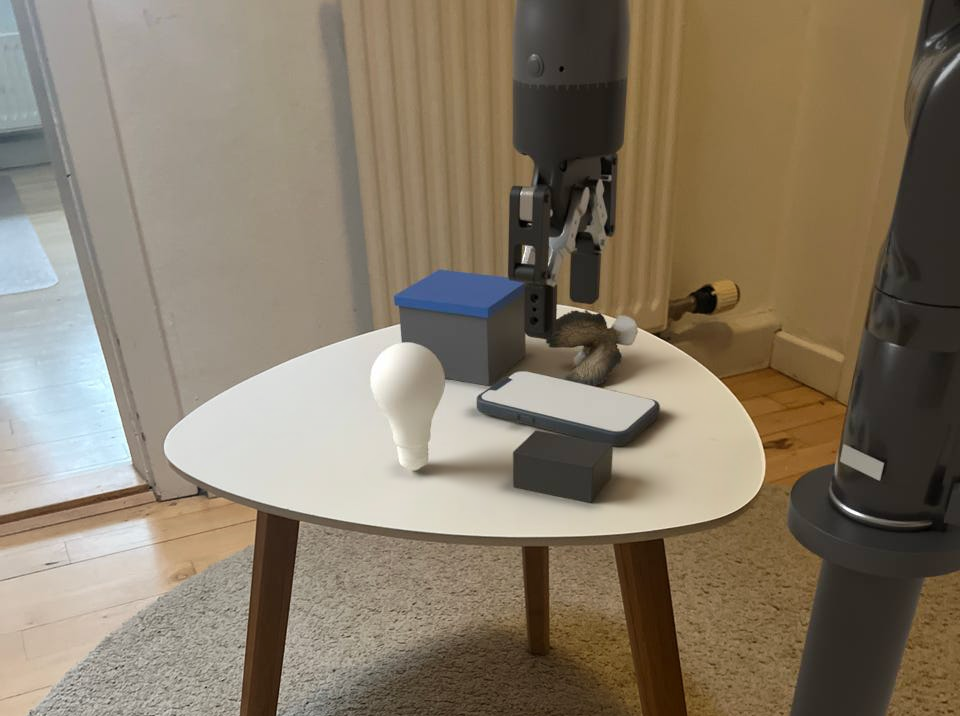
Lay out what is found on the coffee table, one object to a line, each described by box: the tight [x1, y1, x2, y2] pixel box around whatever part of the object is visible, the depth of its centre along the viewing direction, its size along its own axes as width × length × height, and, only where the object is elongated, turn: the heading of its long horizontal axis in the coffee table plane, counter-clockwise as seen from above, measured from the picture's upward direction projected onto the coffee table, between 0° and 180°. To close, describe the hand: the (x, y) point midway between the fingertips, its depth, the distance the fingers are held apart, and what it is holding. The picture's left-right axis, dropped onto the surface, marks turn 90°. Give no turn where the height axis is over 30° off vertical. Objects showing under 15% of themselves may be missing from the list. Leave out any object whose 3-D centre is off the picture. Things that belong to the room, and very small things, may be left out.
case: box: [512, 430, 614, 504], centre depth 81 cm, size 7×5×3 cm, turn 63°
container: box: [393, 269, 526, 387], centre depth 102 cm, size 11×10×8 cm
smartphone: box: [476, 370, 661, 447], centre depth 93 cm, size 9×2×16 cm
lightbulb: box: [369, 342, 446, 472], centre depth 82 cm, size 6×6×11 cm
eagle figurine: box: [544, 309, 639, 387], centre depth 100 cm, size 8×7×9 cm
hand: (563, 318), depth 74 cm, fingers open, 8 cm apart
